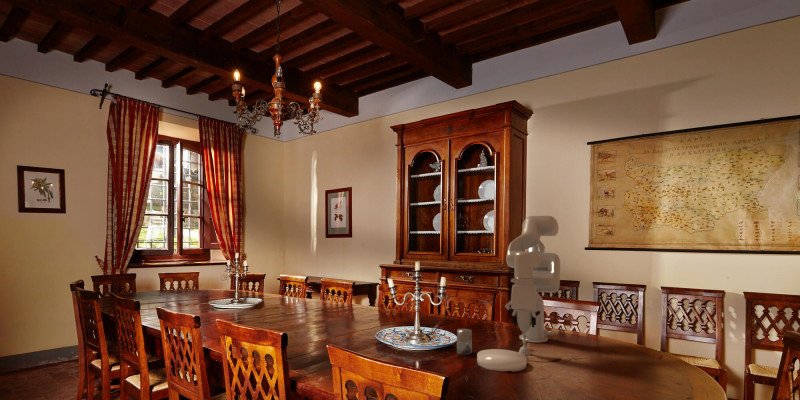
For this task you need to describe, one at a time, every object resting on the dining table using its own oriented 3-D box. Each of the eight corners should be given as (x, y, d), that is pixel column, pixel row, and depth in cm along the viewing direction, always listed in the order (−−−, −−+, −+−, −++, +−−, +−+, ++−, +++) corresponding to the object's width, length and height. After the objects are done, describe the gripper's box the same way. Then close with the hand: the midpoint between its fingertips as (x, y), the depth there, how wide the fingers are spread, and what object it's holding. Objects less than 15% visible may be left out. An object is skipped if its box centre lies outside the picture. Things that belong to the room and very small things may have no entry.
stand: (511, 355, 170) (511, 348, 170) (536, 369, 153) (535, 361, 153) (469, 358, 166) (469, 350, 166) (490, 373, 149) (489, 364, 149)
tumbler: (468, 350, 178) (468, 328, 178) (474, 354, 172) (474, 331, 173) (454, 351, 176) (454, 329, 177) (460, 355, 170) (460, 332, 171)
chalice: (532, 351, 177) (531, 307, 178) (535, 356, 170) (535, 310, 172) (514, 350, 178) (513, 307, 179) (517, 355, 171) (516, 310, 172)
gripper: (501, 281, 176) (501, 326, 174) (545, 284, 169) (546, 330, 168) (503, 280, 183) (504, 322, 181) (546, 282, 176) (547, 326, 175)
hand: (524, 325), depth 175 cm, fingers closed on chalice, 6 cm apart
